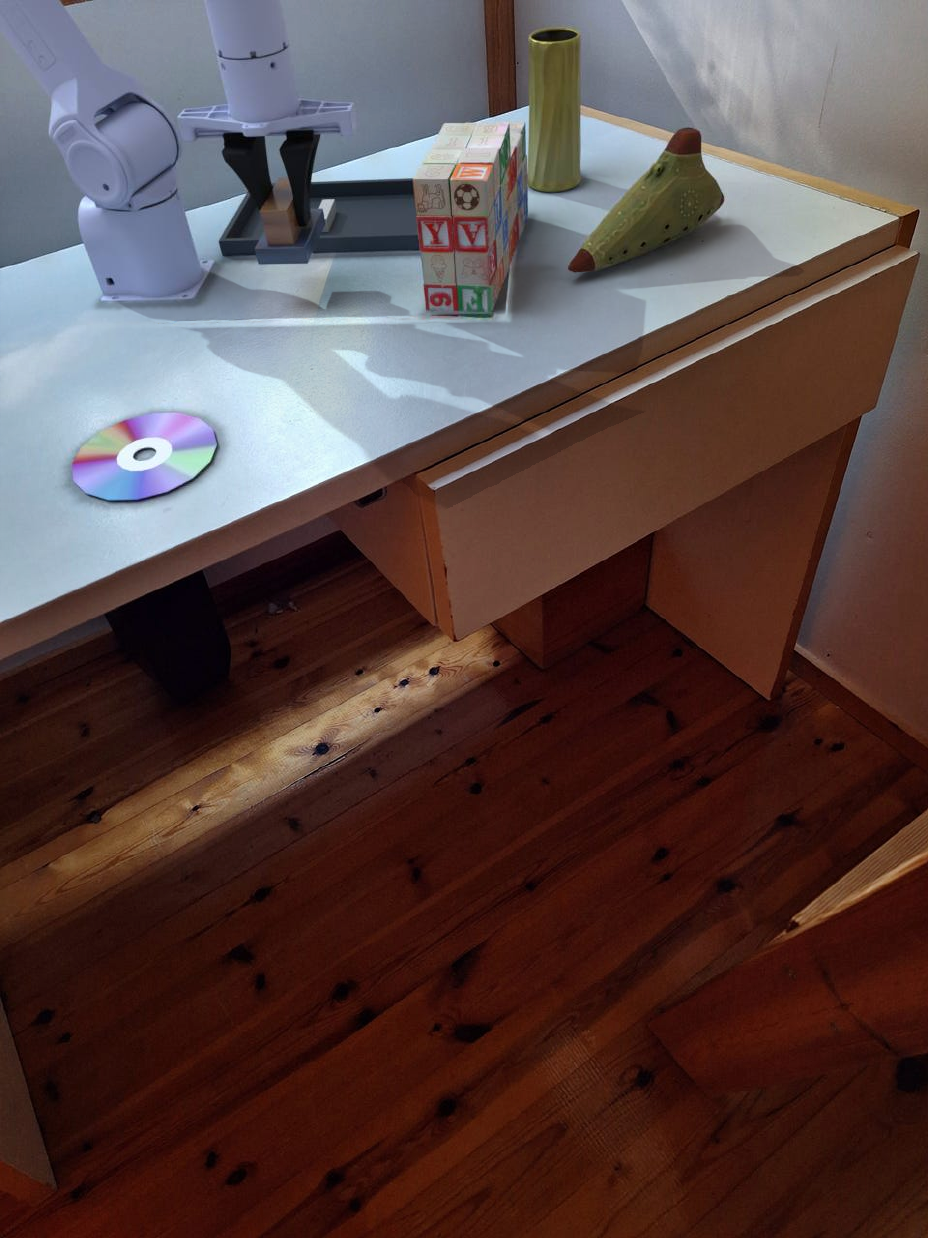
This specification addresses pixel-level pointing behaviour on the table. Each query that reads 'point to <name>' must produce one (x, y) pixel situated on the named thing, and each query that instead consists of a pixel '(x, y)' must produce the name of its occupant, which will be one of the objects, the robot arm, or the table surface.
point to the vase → (554, 109)
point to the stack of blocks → (470, 213)
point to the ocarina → (655, 207)
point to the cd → (121, 477)
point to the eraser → (286, 229)
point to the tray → (342, 218)
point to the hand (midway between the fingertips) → (288, 222)
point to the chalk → (328, 212)
